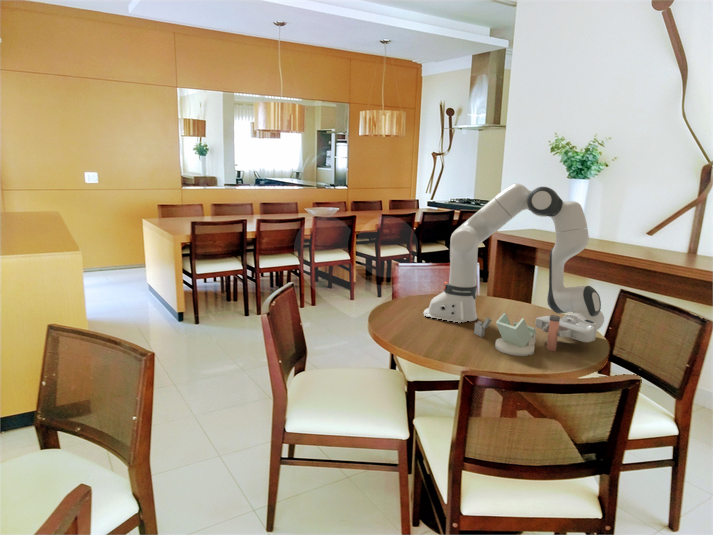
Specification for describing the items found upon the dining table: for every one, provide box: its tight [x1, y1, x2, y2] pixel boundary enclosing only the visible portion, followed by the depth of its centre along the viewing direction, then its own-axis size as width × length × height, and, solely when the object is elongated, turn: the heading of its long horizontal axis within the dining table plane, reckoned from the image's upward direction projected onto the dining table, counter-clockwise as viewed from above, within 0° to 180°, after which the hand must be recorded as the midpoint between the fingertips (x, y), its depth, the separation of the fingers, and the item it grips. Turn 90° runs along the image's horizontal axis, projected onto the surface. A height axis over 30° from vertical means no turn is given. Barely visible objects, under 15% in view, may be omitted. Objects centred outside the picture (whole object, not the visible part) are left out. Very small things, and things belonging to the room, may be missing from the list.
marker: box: [546, 314, 561, 352], centre depth 168 cm, size 3×3×12 cm
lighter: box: [473, 317, 493, 338], centre depth 180 cm, size 7×2×8 cm, turn 27°
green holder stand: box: [494, 312, 537, 357], centre depth 167 cm, size 13×13×12 cm
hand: (551, 332), depth 168 cm, fingers open, 4 cm apart
